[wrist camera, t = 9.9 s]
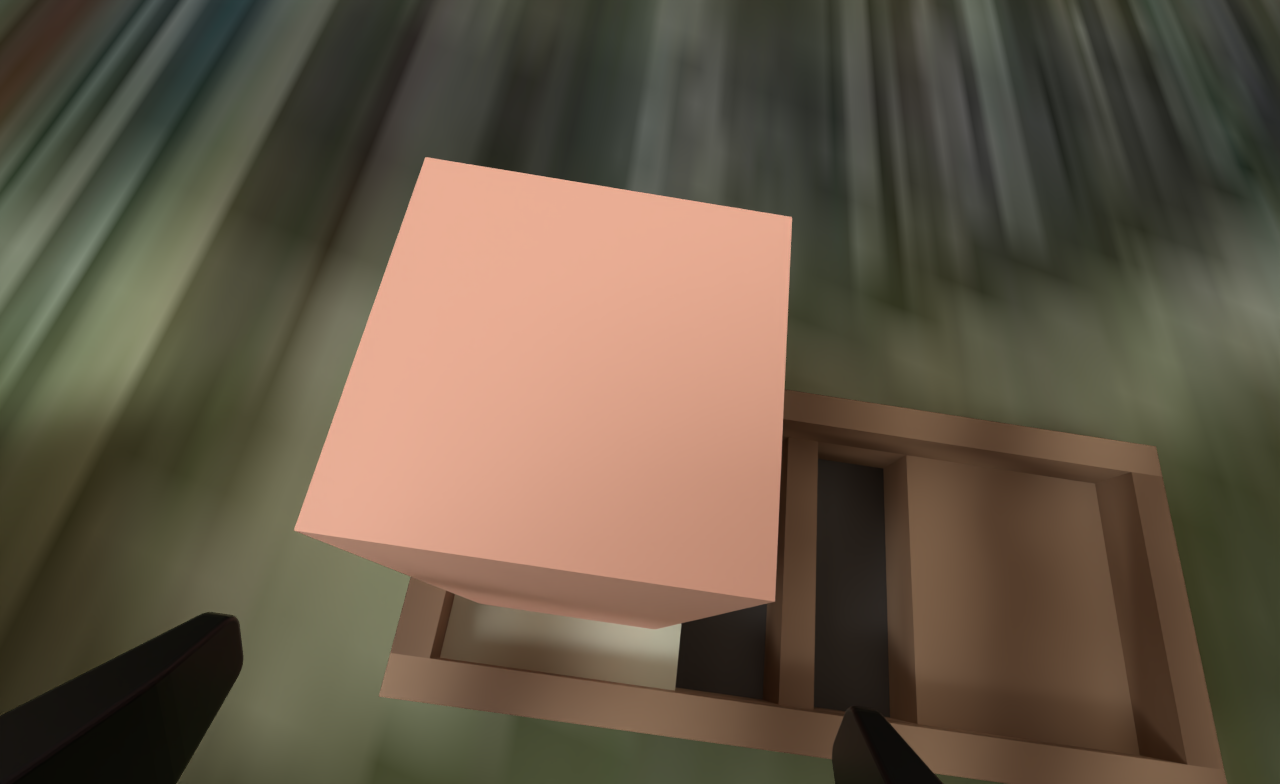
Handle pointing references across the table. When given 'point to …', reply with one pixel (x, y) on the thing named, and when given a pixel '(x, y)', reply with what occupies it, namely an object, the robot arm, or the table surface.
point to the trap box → (892, 615)
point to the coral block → (567, 401)
